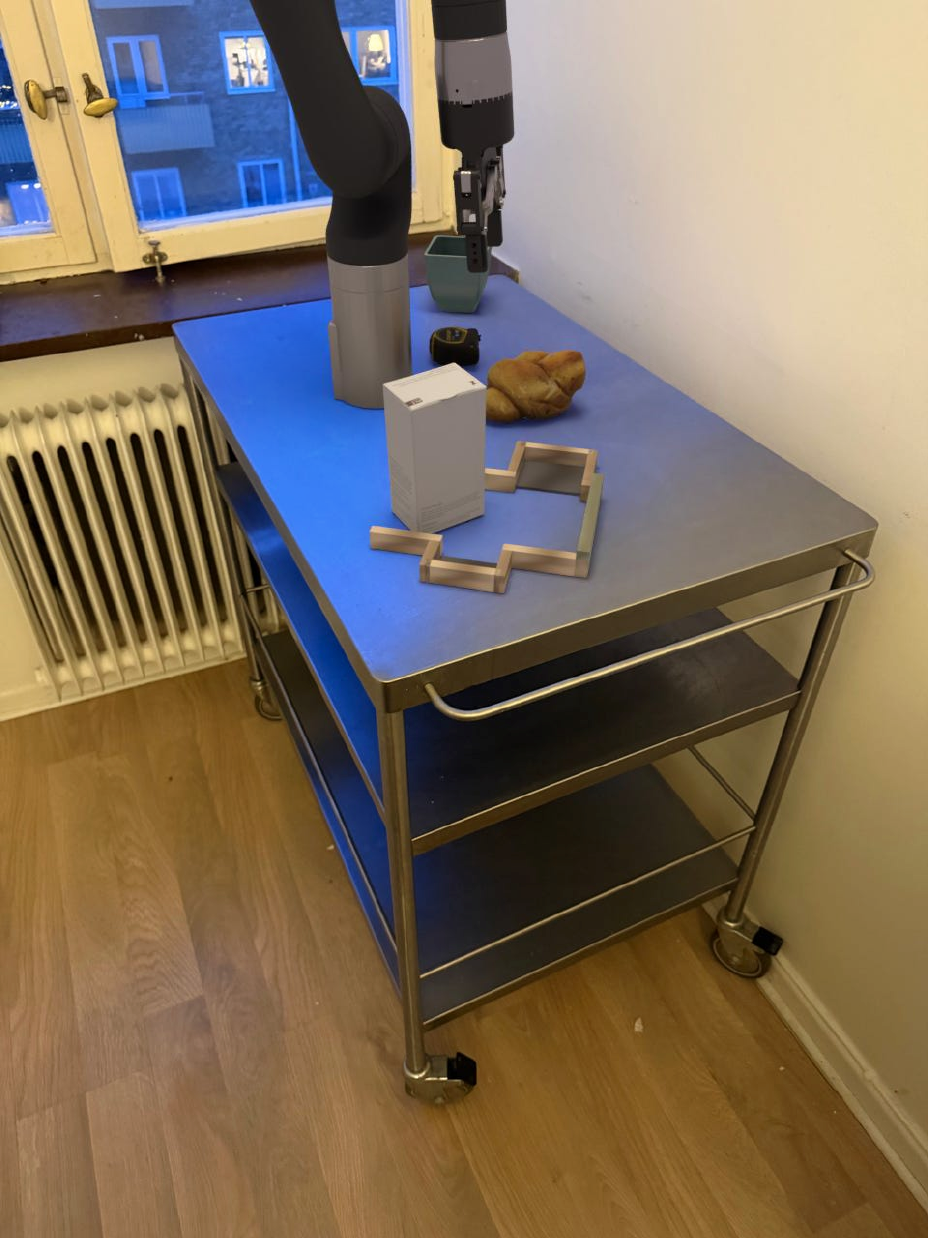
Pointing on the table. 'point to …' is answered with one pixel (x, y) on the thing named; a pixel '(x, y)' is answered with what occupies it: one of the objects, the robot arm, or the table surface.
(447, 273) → the flower pot
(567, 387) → the bread roll
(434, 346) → the tape measure
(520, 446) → the trap lane
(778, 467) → the table surface
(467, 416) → the skincare box
